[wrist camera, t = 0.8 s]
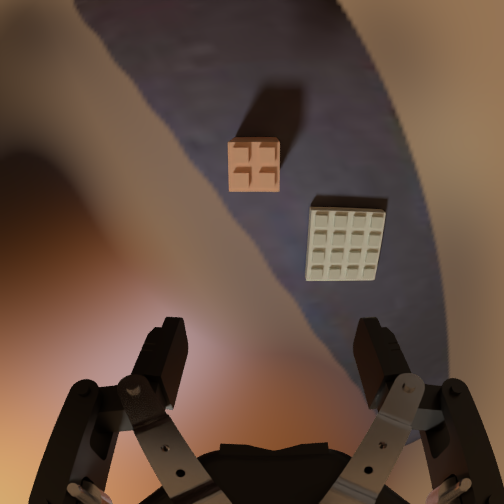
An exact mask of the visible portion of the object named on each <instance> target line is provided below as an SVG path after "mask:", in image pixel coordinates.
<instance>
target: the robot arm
mask: <svg viewBox="0 0 504 504" xmlns="http://www.w3.org/2000/svg"><path fill="white" fill-rule="evenodd" d="M400 349H401V348H400V346H399V344H398V342H397V340H396V338H395V336H394V334H393V333H392V332H391V331H390V330H389V329H388V328H387V327H382V328H381V326H380V323H379V321H378V319H377V318H376V317H367V318H360V319H359V322H358V327H357V331H356V334H355V338H354V342H353V354H354V358H355V361H356V364H357V368H358V371H359V375H360V378H361V382H362V385H363V389H364V393H365V396H366V400H367V404H368V408H369V409H376V408H377V410H378V414H377V416H376V418H375V420H374V422H373V423H372V425H371V427H370V429H369V431H368V432H367V434H366V435H365V437H364V439H363V441H362V442H361V444H360V445H359V447H358V449H357V450H356V452H355V453H354V455H353V457H350V456H349V455H347V454H345V453H343V452H340V451H337V450H332V449H328V443H327V442H325V443H312V444H300V445H297V446H293V447H289V448H285V449H281V450H276V451H272V450H267V449H263V448H258V447H254V446H250V445H238V444H220V450H217V451H213V452H209V453H206V454H203V455H201V456H199V457H197V458H196V456H195V455H194V453H193V452H192V451H191V449H190V448H189V446H188V444H187V443H186V441H185V440H184V438H183V437H182V435H181V434H180V432H179V431H178V429H177V427H176V426H175V424H174V422H173V421H172V419H171V418H170V417H169V415H167V414H166V412H165V409H169V410H173V408H174V405H175V401H176V397H177V392H178V389H179V385H180V381H181V377H182V374H183V370H184V366H185V362H186V358H187V355H188V340H187V335H186V331H185V325H184V320H183V318H180V317H179V318H178V317H166V318H165V320H164V323H163V325H162V327H155V328H154V329H153V330H152V331H151V332H150V333H149V334H148V335H147V338H146V340H145V342H144V344H143V347H142V350H141V351H140V354H139V356H138V359H137V361H136V363H135V366H134V368H133V371H132V373H131V375H128V376H126V377H124V378H123V379H121V380H120V382H119V383H118V385H115V386H106V387H98V385H97V383H96V382H94V381H92V380H89V379H84V380H80V381H78V382H76V383H75V384H74V385H73V386H72V387H71V389H70V392H69V394H68V396H67V398H66V400H65V402H64V405H63V407H62V410H61V412H60V414H59V417H58V419H57V421H56V424H55V426H54V429H53V432H52V434H51V436H50V439H49V442H48V444H47V447H46V450H45V452H44V455H43V458H42V461H41V463H40V466H39V469H38V472H37V475H36V479H35V481H34V485H33V488H32V491H31V494H30V498H29V503H28V504H113V503H112V500H111V499H110V497H109V496H108V495H107V494H105V493H104V491H105V486H106V482H107V478H108V473H109V469H110V465H111V461H112V457H113V453H114V449H115V445H116V441H117V437H118V434H119V432H120V431H130V430H133V431H134V434H135V436H136V438H137V440H138V442H139V444H140V446H141V448H142V450H143V452H144V453H145V455H146V457H147V459H148V461H149V463H150V465H151V467H152V468H153V470H154V472H155V474H156V476H157V477H158V479H159V481H160V482H161V484H162V486H161V487H160V488H159V489H157V490H156V491H155V492H154V493H152V494H151V495H149V496H148V497H147V498H146V499H144V500H143V501H142V502H140V503H139V504H410V503H408V502H407V501H406V500H404V499H403V498H402V497H400V496H399V495H398V494H397V493H395V492H394V491H393V490H391V489H390V488H389V487H388V486H386V485H385V482H386V481H387V479H388V477H389V475H390V473H391V471H392V469H393V467H394V465H395V463H396V461H397V459H398V457H399V455H400V453H401V451H402V449H403V447H404V445H405V443H406V441H407V438H408V436H409V434H410V432H411V429H414V430H419V432H420V436H421V439H422V443H423V447H424V452H425V455H426V460H427V464H428V469H429V473H430V478H431V483H432V488H433V491H431V492H430V493H429V495H428V497H427V499H426V504H504V487H503V483H502V479H501V476H500V472H499V469H498V466H497V462H496V459H495V456H494V453H493V450H492V447H491V444H490V442H489V439H488V436H487V433H486V430H485V428H484V425H483V423H482V420H481V418H480V415H479V413H478V410H477V408H476V405H475V403H474V401H473V398H472V396H471V394H470V391H469V389H468V387H467V385H466V384H465V383H464V382H462V381H461V380H459V379H456V378H450V379H447V380H446V381H445V382H444V383H443V385H442V386H436V385H427V384H424V382H423V380H422V379H421V378H420V377H418V376H417V375H415V374H412V373H411V371H410V369H409V366H408V364H407V362H406V360H405V357H404V355H403V353H402V351H401V350H400Z"/></svg>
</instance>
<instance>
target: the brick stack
mask: <svg viewBox="0 0 504 504" xmlns="http://www.w3.org/2000/svg"><path fill="white" fill-rule="evenodd" d="M228 169H229V192H251V191H255V192H279V177H280V142H279V140H278V139H277V137H234V138H233V139H232V140H230V141H229V142H228Z"/></svg>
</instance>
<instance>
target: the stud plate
mask: <svg viewBox="0 0 504 504" xmlns="http://www.w3.org/2000/svg"><path fill="white" fill-rule="evenodd" d="M385 215H386V213H385V212H384V211H383V210H382V209H364V208H339V207H310V211H309V228H308V243H307V256H306V269H305V278H306V281H341V280H374V279H375V274H376V269H377V264H378V258H379V253H380V247H381V241H382V235H383V229H384V222H385Z"/></svg>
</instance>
